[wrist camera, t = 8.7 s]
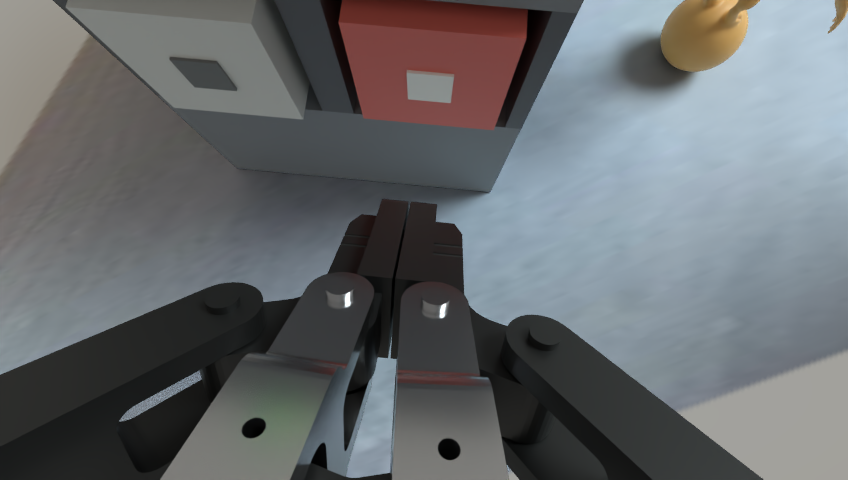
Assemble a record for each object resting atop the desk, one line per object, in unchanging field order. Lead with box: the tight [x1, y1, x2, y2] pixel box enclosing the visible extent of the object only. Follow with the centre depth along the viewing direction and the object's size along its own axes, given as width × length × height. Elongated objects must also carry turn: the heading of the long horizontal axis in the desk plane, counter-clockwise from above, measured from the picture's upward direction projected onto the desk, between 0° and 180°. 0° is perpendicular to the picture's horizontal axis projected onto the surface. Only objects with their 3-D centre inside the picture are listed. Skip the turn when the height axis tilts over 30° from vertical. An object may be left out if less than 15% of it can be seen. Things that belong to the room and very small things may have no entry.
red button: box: [339, 0, 528, 130], centre depth 14 cm, size 5×6×5 cm
